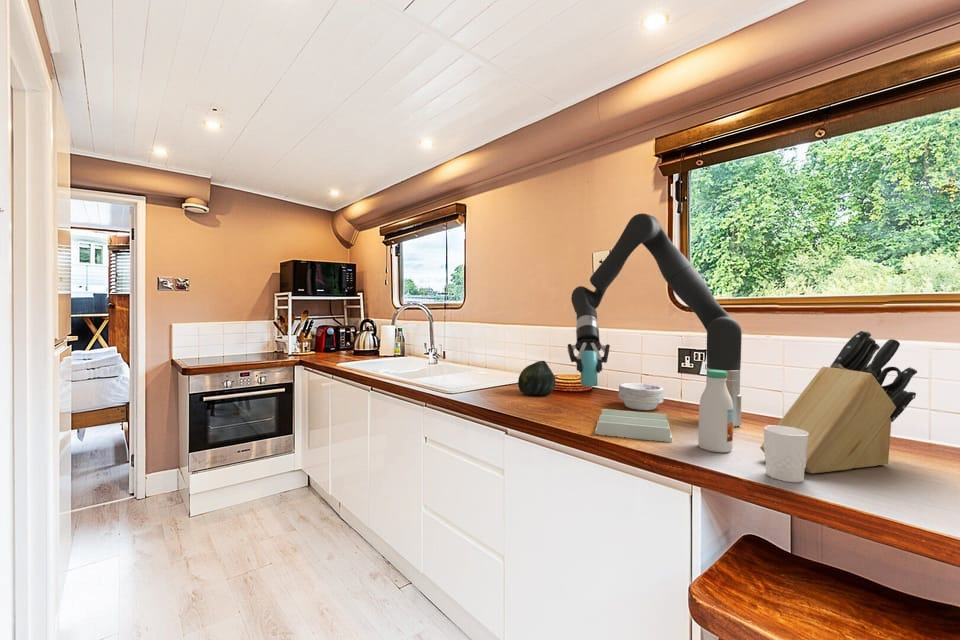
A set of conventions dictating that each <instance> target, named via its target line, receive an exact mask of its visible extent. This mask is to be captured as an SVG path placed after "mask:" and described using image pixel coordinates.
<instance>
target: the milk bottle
mask: <svg viewBox="0 0 960 640" xmlns="http://www.w3.org/2000/svg"><path fill="white" fill-rule="evenodd" d="M706 377H707V379H708V381H707V385H706V384H705V385H706V386H705V388H704V390H703V392H702V394H701V396H700V399H699V407H698V408H699V409H698V441H697V442H698V446H699V448H701V449H702V450H704V451H708V452H713V453H723V454H724V453H730V452H732V450H733V442H734V441H733V438H734V437H733V436H734V435H733V434H734V427H733V402H732V399H731V396H730V394H729V392H728V389H727V386H726V380H727V372H726V371H722V370H707V369H706Z"/></svg>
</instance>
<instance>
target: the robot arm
mask: <svg viewBox="0 0 960 640" xmlns="http://www.w3.org/2000/svg"><path fill="white" fill-rule="evenodd" d="M641 244H642V245H643V246H644V247H645V248H646V250H647V251H648V252H649V253H650V254H651V255H652V257H653V258H654V260H655V261H656V264H657V267H658V269H659V271H660V273H661V275H662V277H663V279H664V280H665V282H666V283H667V284H668V286H669V287H670V288H671V289H672V291H673V292H674V293H675V295H676V296H677V297H678V298H679V299H680V300H681V301H682V302H683V303H684V304H685V305H686V306H687V307H688V308H689V309H690V310H691V311H692V312H693V313H694V314H695V315H696V316H697V318H698V319H699V320H700V322H701V324H702V325H703V327H704V328H705V330H706V371H707V370H722V371H726V372H727V380H726V386H727V389H728V392H729V394H730V396H731V399H732V402H733V428H734V427H735V426H736V427H737V426H739V427H740V426H742V425H741V424H742V423H741V422H742V395H741V361H742V339H743V338H742V332H743V331H742V328H741V325H740V323H739V322H738V321H737V320H735V319H734V318H733V317H732V316H731V315H730V314H729V313H728V312H727V311H726V310H725V309H724V308H723V307H722V306H721V305H720V303H719V302H718V301H717V300H716V299H715V297H714V295H713V294H712V291H711V290H710V288H709V286H708V285H707V283H706V281H705V280H704V279H703V277H702V275H701V274H700V273H699V272H698V271H697V270H696V268H695V267H694V265H693V264H692V263H691V262H690V261H689V260H688V258H687V257H686V256H685V255H684V254H683V253H682V252H681V250H679V249H678V248H677V246H676V245H675V244H673V242H672V240H671V239H670V237H669V236H668V234H667V233H666V232H665V230H664V228H663V227H662V225H661V223H660V221H659V220H658V219H657V218H656V217H655V216H653V215H651V214H647V213H642V212H641V213H637V214H635V215H633V216H632V217H631V218H630V219H629V221H628V222H627V224H626V226H625V227H624V230H623V232H622V233H621V235H620V237H619V238H618V240H617V241H616V243H615V245H614V246H613V248H612V249H611V251H610V252H609V253H608V254H607V256H606V257H605V259H604V260H603V261H602V263H601V264H600V265H599V266H598V267H597V269H596V270H595V271H594V273H593V274H591V276H590V278H589V282H590V284H591V285H592V286H593V287H594V288H595V289H594V290H592V289H588V287H586V286H581V285H579V286H577V287H576V288H574V289H573V290H572V293H571V304H572V308H573V310H574V313H575V314H576V326H575V327H576V328H575V332H576V334H575V335H576V343H575V344H571V343H568V344H567V352H568V353H567V354H568V356H569V358H570V362H571V363H576V371H577V372H579V373H581V351H582V350H594V351H598V360H597V374H598V373H599V374H600V372H602V371H603V363H604V364H606V363H607V362H608V359H609V353H610V344H607V343H606V344H605V345H602V343H601V341H600V332H599V331H600V330H599V323H598V315H597V314H598V313H597V308H598V307H599V306H600V304H601V303H602V301H603V297H604V295H605V293H606V291H607V289H608V287H610V285H611V284H612V283H613V281H614V280H615V279H616V278H617V277H618V275H619V274H620V273H621V270H622V269H623V267H624V265H625V263H626V262H627V260H628V258H629V257H630V255H631V254H632V253H633V252H634V251H635V249H636V248H638V247H639V246H640V245H641ZM575 350H576V351H577V352H578V354H577V356H576V355H575ZM601 350H602V352H603V353H604V354H603V356H602V355H601V354H600V351H601ZM707 381H708V379H707V376H706V384H705V385H707ZM740 428H741V427H740Z"/></svg>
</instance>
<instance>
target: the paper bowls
mask: <svg viewBox="0 0 960 640" xmlns="http://www.w3.org/2000/svg"><path fill="white" fill-rule="evenodd" d="M618 398H619V399H620V400H622V401H623V403H624V405H625V407H626V408H629V409H632V410H635V409H636V411H653V410H656V408H657V406H658V405H659V404H662V403H664V388H663V386H659V385H654V384H649V383H639V382H638V383H637V382H636V383H635V382H634V383H633V382H630V383H629V382H627V383H626V382H625V383H621V384H620V383H619V385H618Z"/></svg>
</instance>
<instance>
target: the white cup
mask: <svg viewBox="0 0 960 640" xmlns="http://www.w3.org/2000/svg"><path fill="white" fill-rule="evenodd" d="M808 438H809V433H808V432H806V431H804V430H801V429H797V428H793V427H786V426H777V425H773V424H772V425H765V426H763V443H764V450H765V453H764V460H765V474H766V475H767V476H768V477H769V476H770V478H772V479H774V478H775V480H777V479H778V480H777V481H781V480H782V482H785V483H795V482H796V483H802V482H804V480H805V472H806V471H805V468H806V461H807V449H808Z"/></svg>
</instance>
